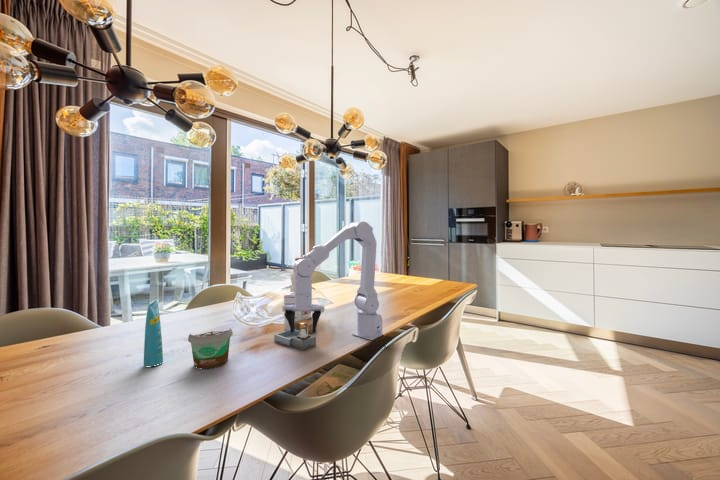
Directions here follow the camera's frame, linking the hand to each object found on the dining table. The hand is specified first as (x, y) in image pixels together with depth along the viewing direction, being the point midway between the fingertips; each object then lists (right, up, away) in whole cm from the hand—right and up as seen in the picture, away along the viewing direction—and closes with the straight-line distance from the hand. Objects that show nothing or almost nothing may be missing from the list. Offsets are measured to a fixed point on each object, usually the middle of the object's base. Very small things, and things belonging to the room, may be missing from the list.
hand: (303, 331), depth 105 cm
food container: (-25, -6, -16) cm, 30 cm away
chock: (-2, -5, +15) cm, 16 cm away
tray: (-6, -5, +5) cm, 9 cm away
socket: (0, -5, 0) cm, 5 cm away
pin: (0, -5, 0) cm, 5 cm away
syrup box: (-8, -5, +20) cm, 22 cm away
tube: (-43, -6, -14) cm, 45 cm away
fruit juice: (-8, -4, +34) cm, 36 cm away
